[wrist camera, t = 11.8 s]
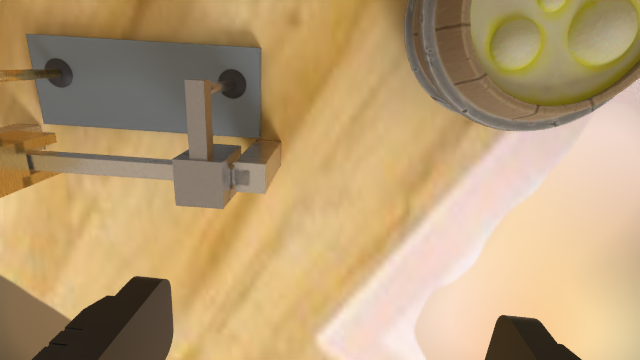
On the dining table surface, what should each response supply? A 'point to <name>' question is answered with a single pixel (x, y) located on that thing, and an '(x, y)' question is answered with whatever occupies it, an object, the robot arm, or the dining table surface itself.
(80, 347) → the robot arm
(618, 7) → the mug
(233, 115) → the flange plate
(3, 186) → the slide head
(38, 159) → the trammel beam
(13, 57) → the dining table surface
